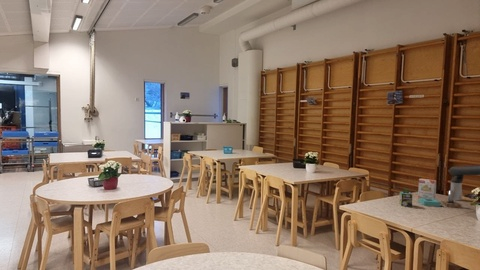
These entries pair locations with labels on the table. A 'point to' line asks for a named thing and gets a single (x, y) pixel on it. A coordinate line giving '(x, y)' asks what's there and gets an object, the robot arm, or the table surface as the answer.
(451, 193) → the peg
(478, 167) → the robot arm
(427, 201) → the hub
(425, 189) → the cracker box
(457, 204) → the frame
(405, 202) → the chalk box
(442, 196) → the table surface
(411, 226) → the table surface
